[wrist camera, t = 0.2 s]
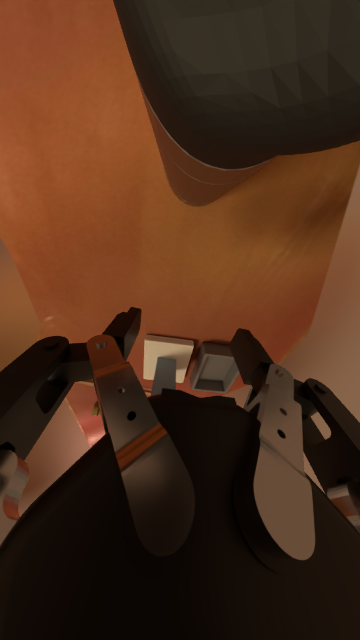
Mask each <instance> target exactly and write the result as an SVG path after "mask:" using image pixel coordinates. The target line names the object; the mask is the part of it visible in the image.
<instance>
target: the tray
mask: <svg viewBox="0 0 360 640" xmlns="http://www.w3.org/2000/svg"><path fill="white" fill-rule="evenodd" d="M239 373H240V372H239V370H238V368H237V365H236V363H235V360H234V358H233V355H232V353H231V350H230V345H224V344H216V343H208V342H203V343H202V345H201V348H200V351H199V354H198V357H197V360H196V363H195V365H194V368H193V371H192V374H191V377H190V384H191V390H196V391H207V392H217V393H227V391H228V390H229V388H230V387H231V385H232V384H233V382H234V381H235V379H236V378H237V376H238V375H239Z"/></svg>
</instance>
